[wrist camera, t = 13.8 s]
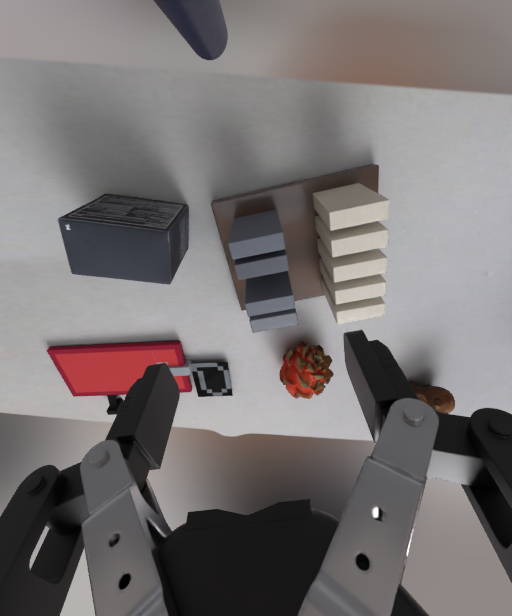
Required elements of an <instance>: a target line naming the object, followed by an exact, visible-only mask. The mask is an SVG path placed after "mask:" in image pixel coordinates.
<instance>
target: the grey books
mask: <svg viewBox="0 0 512 616" xmlns="http://www.w3.org/2000/svg"><path fill="white" fill-rule="evenodd" d="M228 245H229V249H230V253H231V256H232V259H233V260H234V259H235V263H234V267H235V271H236V274H237V278H238V280H243V279H246V290H245V307H246V310H247V314H248V317H249V316H250V324H251V328H252V332H253V333H254V332H260V331H265V330H271V329H277V328H283V327H288V326H294V325H298V320H297V314H296V310H295V302H294V296H293V292H292V287H291V283H290V279H289V274H288V271H289V266H288V260H287V254H286V250H285V242H284V236H283V231H282V227H281V223H280V220H279V216H278V212H277V209H274V210H270V211H265V212H261V213H256V214H252V215H247V216H243V217H238V218H234V219H233V224H232V228H231V233H230V237H229V242H228Z"/></svg>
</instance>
